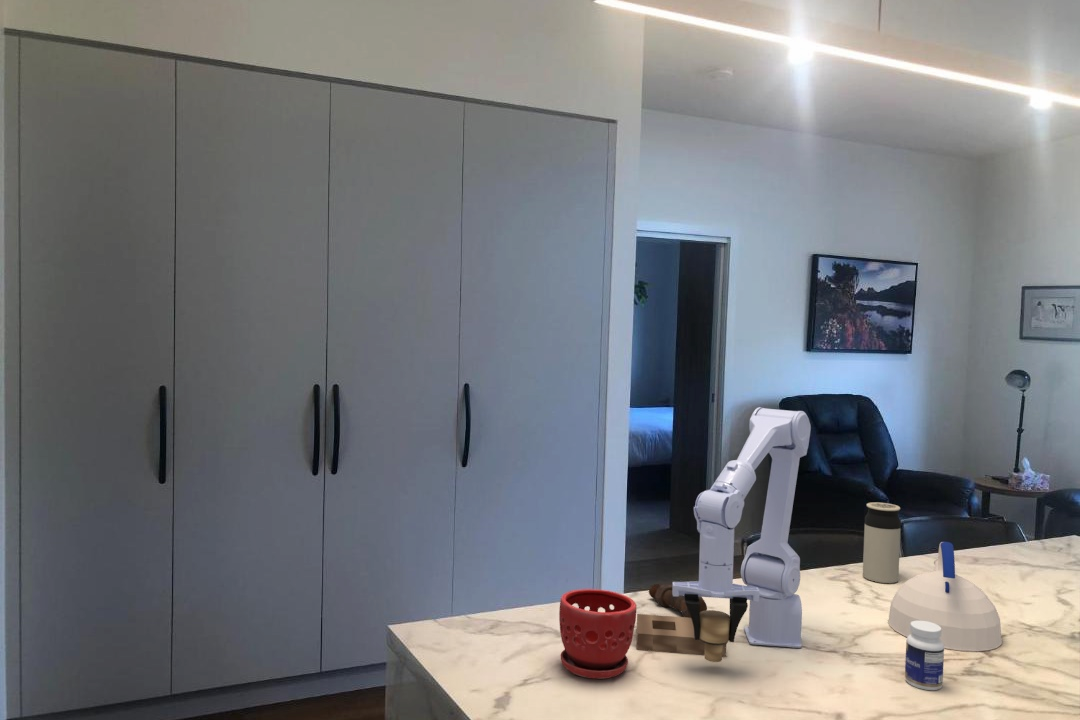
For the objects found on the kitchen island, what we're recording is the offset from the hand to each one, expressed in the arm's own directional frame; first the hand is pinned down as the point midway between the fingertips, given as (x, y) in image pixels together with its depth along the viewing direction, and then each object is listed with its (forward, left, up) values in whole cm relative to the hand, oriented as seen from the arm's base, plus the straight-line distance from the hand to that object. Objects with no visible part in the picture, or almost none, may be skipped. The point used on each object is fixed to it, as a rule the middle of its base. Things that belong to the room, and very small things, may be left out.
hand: (713, 638), depth 132 cm
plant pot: (+20, +3, -6) cm, 21 cm away
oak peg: (0, 0, -3) cm, 3 cm away
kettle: (-48, -27, -6) cm, 55 cm away
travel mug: (-46, -60, -6) cm, 76 cm away
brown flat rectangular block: (+5, -11, -5) cm, 13 cm away
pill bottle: (-35, -1, -6) cm, 35 cm away
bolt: (+5, -28, -6) cm, 30 cm away
